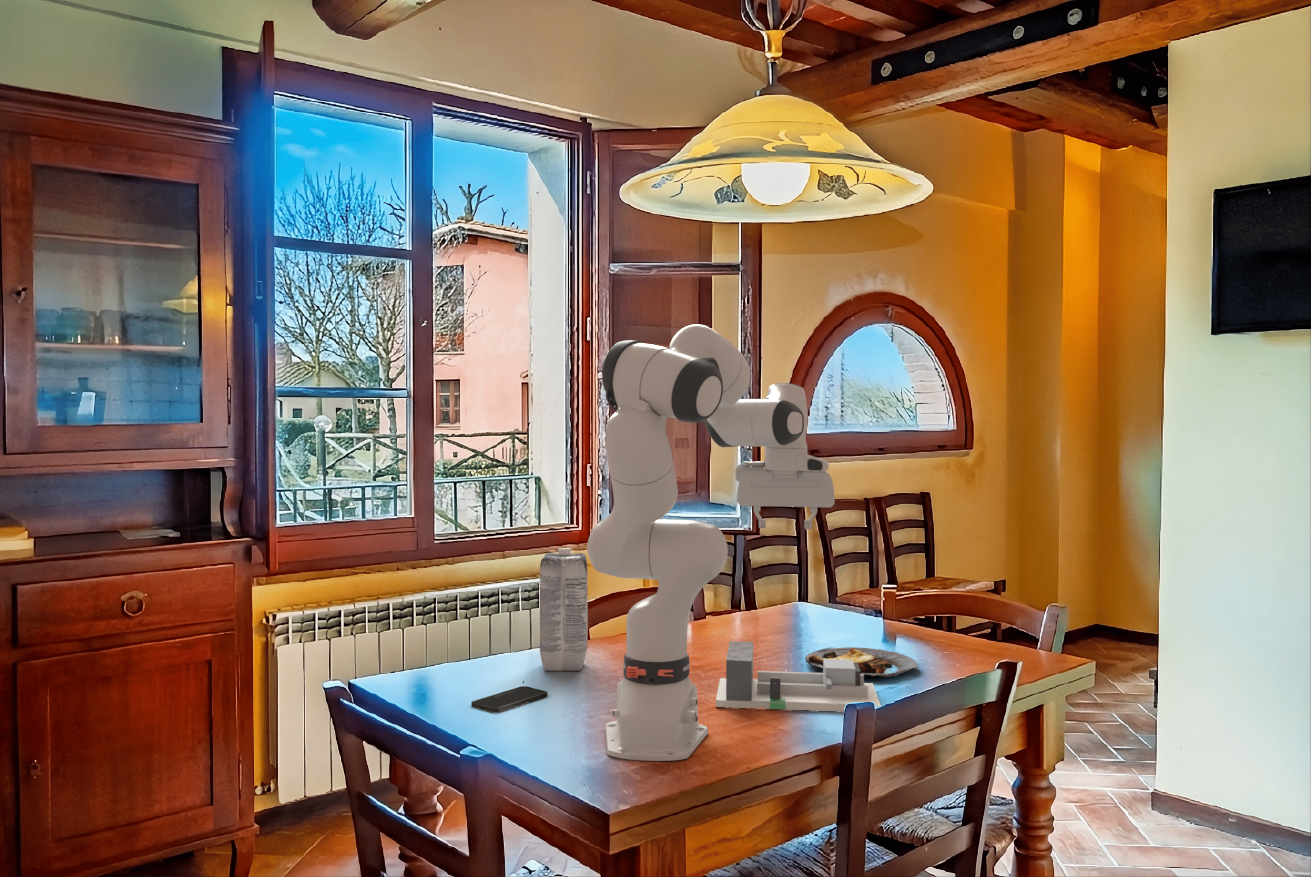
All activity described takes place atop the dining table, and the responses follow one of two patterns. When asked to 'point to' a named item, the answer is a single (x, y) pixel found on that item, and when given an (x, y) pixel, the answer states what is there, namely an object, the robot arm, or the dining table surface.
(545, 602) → the juice carton
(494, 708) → the phone
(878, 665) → the food plate
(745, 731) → the dining table surface
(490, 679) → the dining table surface
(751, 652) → the grey rectangular block
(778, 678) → the block
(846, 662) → the block
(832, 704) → the base
